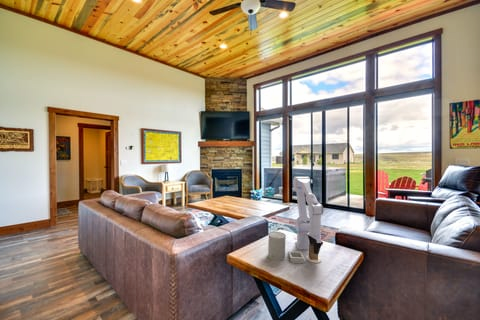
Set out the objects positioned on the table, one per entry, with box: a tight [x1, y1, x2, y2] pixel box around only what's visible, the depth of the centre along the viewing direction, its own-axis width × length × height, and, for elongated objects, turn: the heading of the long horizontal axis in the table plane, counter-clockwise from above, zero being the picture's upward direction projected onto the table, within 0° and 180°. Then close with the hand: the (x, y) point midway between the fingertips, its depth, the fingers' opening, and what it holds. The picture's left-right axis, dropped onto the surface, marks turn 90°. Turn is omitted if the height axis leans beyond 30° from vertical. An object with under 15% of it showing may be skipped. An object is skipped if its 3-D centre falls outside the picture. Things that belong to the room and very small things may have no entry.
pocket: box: [287, 251, 305, 264], centre depth 115 cm, size 7×7×2 cm
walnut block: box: [308, 244, 319, 260], centre depth 116 cm, size 4×4×7 cm
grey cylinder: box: [267, 231, 287, 262], centre depth 118 cm, size 10×10×12 cm
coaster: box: [305, 254, 323, 264], centre depth 116 cm, size 8×8×1 cm
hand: (314, 250), depth 116 cm, fingers open, 7 cm apart
